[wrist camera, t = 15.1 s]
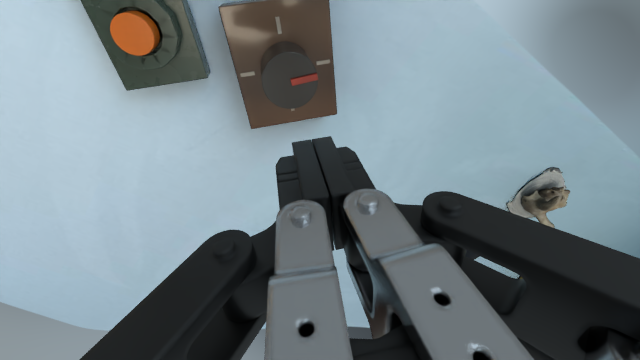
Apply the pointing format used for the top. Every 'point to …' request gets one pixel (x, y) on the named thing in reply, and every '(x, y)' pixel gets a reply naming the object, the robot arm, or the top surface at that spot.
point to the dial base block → (272, 27)
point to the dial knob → (288, 75)
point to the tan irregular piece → (541, 196)
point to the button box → (172, 51)
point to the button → (134, 33)
